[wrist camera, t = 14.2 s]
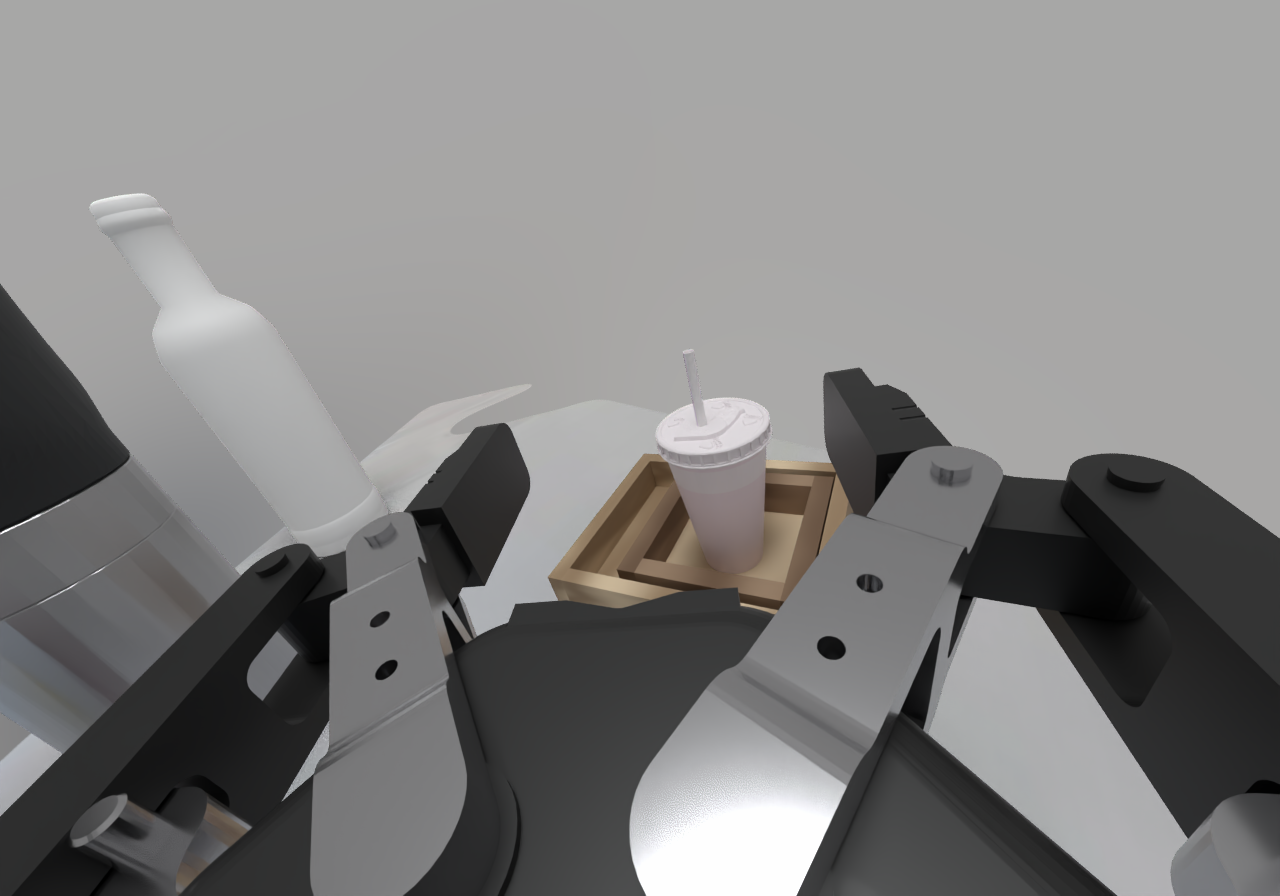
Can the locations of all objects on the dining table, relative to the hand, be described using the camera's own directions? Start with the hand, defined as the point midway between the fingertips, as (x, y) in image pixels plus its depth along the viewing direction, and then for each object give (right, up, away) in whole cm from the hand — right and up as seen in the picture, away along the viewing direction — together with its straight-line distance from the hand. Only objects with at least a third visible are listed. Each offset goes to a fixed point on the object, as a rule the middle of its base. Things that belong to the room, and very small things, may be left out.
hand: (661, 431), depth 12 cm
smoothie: (+6, -7, +19) cm, 21 cm away
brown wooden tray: (+5, -8, +20) cm, 22 cm away
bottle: (-29, -9, +35) cm, 47 cm away
